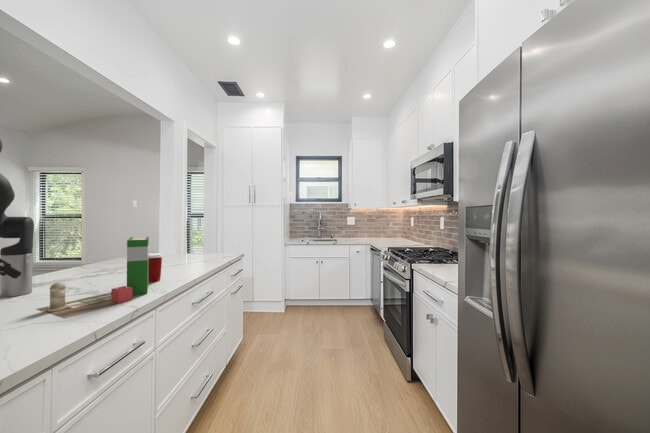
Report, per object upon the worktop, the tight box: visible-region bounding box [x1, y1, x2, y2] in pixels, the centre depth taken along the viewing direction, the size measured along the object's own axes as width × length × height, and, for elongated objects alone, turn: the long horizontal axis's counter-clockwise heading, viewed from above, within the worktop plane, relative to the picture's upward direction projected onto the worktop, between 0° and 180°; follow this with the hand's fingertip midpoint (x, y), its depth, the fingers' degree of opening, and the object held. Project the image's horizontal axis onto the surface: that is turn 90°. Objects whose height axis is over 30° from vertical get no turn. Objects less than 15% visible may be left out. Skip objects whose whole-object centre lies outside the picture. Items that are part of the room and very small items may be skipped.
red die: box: [110, 285, 133, 304], centre depth 113 cm, size 5×5×5 cm
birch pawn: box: [47, 282, 68, 312], centre depth 102 cm, size 6×6×10 cm
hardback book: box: [126, 236, 150, 297], centre depth 129 cm, size 18×7×24 cm, turn 31°
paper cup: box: [148, 252, 164, 283], centre depth 147 cm, size 8×8×14 cm
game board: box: [35, 293, 133, 319], centre depth 108 cm, size 20×22×1 cm
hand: (12, 274), depth 92 cm, fingers open, 8 cm apart
